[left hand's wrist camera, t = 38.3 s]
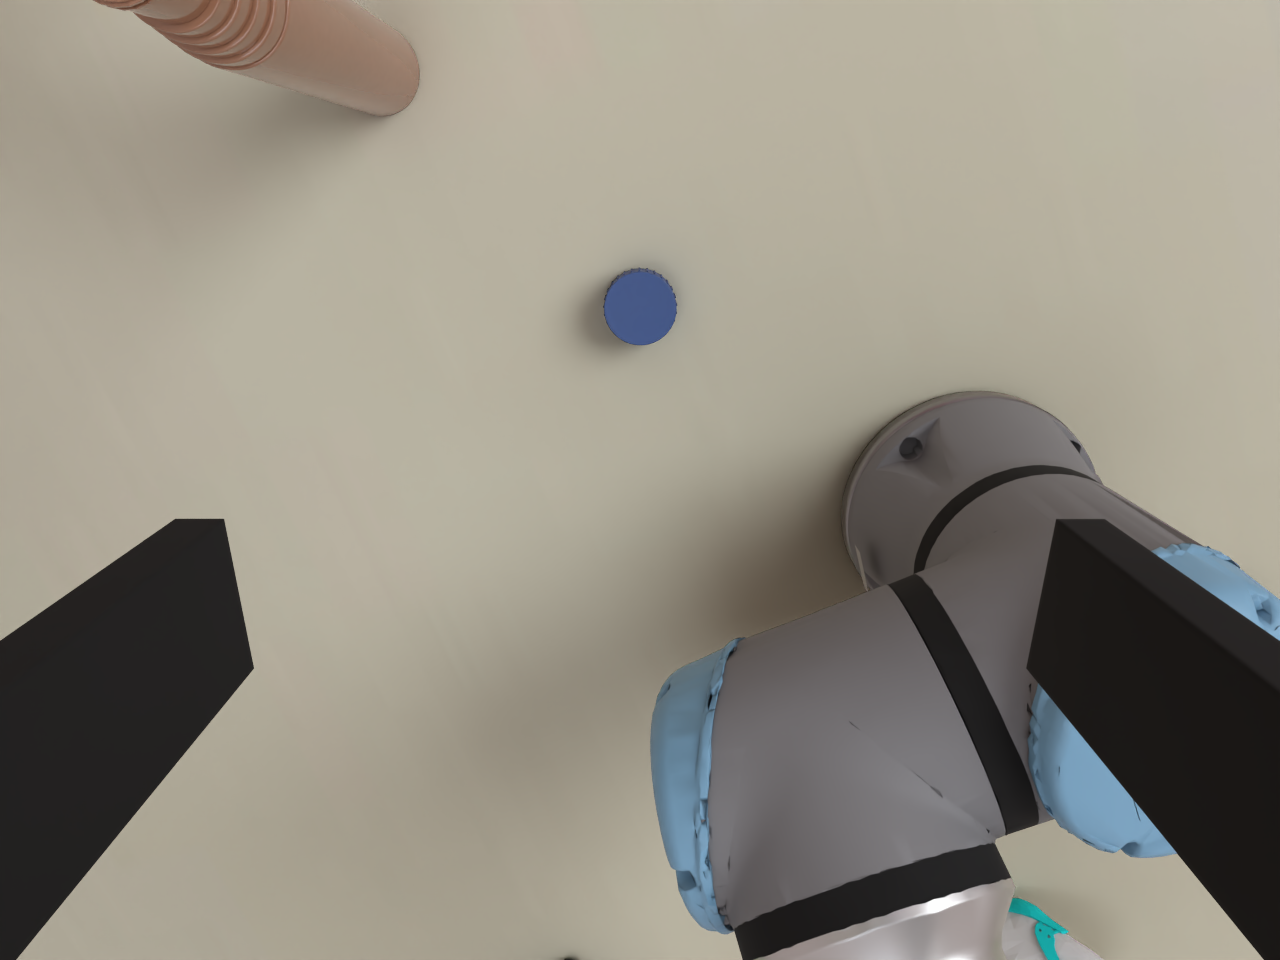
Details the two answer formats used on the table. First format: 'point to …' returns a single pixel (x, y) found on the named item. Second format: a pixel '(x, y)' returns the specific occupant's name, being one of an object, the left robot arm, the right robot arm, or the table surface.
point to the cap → (640, 306)
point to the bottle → (293, 46)
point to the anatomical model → (1038, 936)
